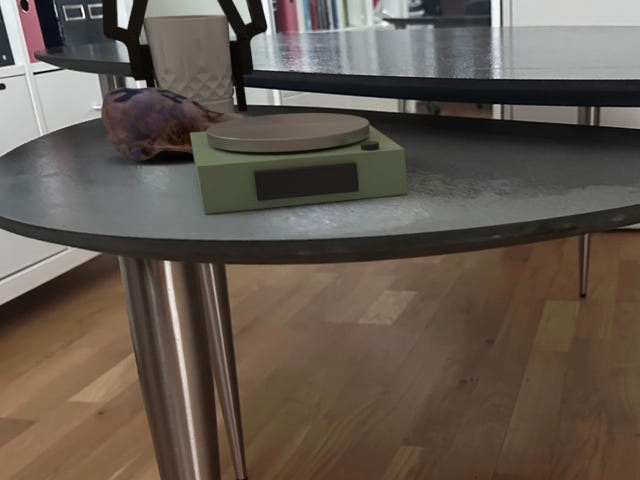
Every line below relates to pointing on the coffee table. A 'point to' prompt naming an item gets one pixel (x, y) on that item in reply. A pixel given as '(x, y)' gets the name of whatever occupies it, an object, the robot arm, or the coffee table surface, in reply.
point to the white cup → (193, 58)
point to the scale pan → (288, 132)
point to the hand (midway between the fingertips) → (199, 112)
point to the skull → (155, 121)
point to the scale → (297, 174)
